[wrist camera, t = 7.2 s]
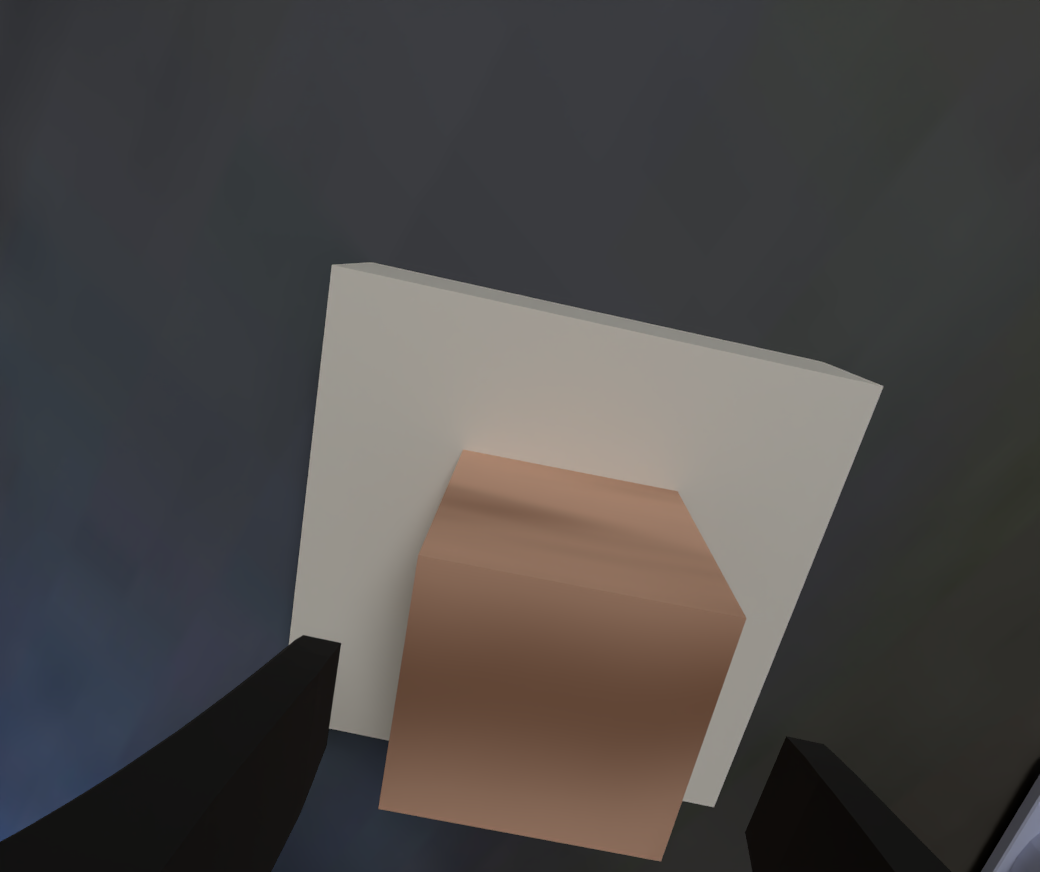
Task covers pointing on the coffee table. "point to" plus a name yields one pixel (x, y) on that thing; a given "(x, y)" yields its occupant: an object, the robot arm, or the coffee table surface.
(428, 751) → the terracotta cube
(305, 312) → the coffee table surface
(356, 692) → the plinth
